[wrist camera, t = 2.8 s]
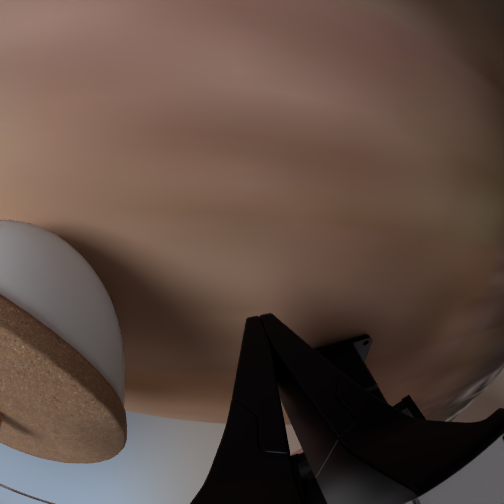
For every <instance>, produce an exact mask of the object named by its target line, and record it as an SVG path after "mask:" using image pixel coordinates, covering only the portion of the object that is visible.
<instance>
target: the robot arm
mask: <svg viewBox="0 0 504 504" xmlns="http://www.w3.org/2000/svg"><path fill="white" fill-rule="evenodd" d="M371 341H372V339H371V337H370V336H369V335H368V334H365V335H362V336H359V337H356V338H352V339H349V340H346V341H342V342H339V343H336V344H332V345H329V346H325V347H322V348H318V349H313V348H312V347H311V346H310V345H308V344H307V343H306V342H305V341H304V340H302V339H301V338H300V337H299V336H298V335H296V334H295V333H294V332H293V331H292V330H291V329H289V328H288V327H287V326H286V325H285V324H283V323H282V322H281V321H280V320H279V319H278V318H276V317H275V316H274V315H273V314H271V313H268V314H263V315H260V316H253V317H248V318H247V319H246V323H245V329H244V334H243V340H242V345H241V351H240V357H239V362H238V368H237V373H236V379H235V384H234V390H233V395H232V400H231V405H230V410H229V415H228V419H227V423H226V427H225V430H224V433H223V436H222V439H221V442H220V445H219V448H218V450H217V453H216V456H215V458H214V461H213V464H212V467H211V469H210V471H209V474H208V476H207V478H206V480H205V482H204V484H203V486H202V488H201V489H200V491H199V492H198V493H197V495H196V496H195V498H194V499H193V500H192V502H191V503H190V504H504V435H503V436H501V435H502V434H504V409H503V408H499V409H498V410H496V411H495V412H494V413H493V414H492V415H491V416H489V417H488V418H487V419H485V420H482V421H479V422H472V423H462V422H445V421H432V420H426V419H425V417H424V416H423V415H422V413H421V412H420V410H419V409H418V407H417V406H416V404H415V403H414V401H413V400H412V399H411V397H410V396H409V395H408V396H406V397H405V398H403V399H402V401H401V402H399V403H398V404H396V405H394V406H393V407H392V406H391V405H389V404H388V403H387V401H386V400H385V398H384V396H383V394H382V393H381V391H380V389H379V387H378V386H377V383H376V381H375V380H374V378H373V376H372V374H371V373H370V371H369V369H368V368H367V366H366V364H365V363H364V362H365V359H366V356H367V353H368V351H369V348H370V345H371ZM280 399H281V401H282V403H283V406H284V408H285V410H286V413H287V415H288V417H289V419H290V422H291V424H292V426H293V429H294V431H295V433H296V435H297V438H298V440H299V442H300V444H301V447H302V449H303V451H304V452H303V453H300V454H295V455H292V456H290V450H289V444H288V439H287V433H286V428H285V422H284V417H283V411H282V406H281V401H280Z"/></svg>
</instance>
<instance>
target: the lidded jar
mask: <svg viewBox="0 0 504 504" xmlns="http://www.w3.org/2000/svg"><path fill="white" fill-rule="evenodd" d="M124 403H125V365H124V348H123V342H122V336H121V330H120V326H119V321H118V318H117V315H116V312H115V309H114V306H113V304H112V301H111V299H110V296H109V294H108V292H107V290H106V289H105V287H104V285H103V283H102V281H101V280H100V278H99V277H98V275H97V274H96V272H95V271H94V270H93V268H92V267H91V265H90V264H89V263H88V262H87V261H86V260H85V259H84V257H83V256H82V255H81V254H80V253H79V252H78V251H77V250H75V249H74V248H73V247H72V246H71V245H70V244H69V243H67V242H66V241H64V240H63V239H61V238H60V237H59V236H57V235H56V234H54V233H52V232H50V231H48V230H46V229H44V228H42V227H39V226H36V225H33V224H30V223H26V222H20V221H14V220H0V443H3V444H5V445H7V446H9V447H11V448H13V449H16V450H18V451H21V452H24V453H27V454H30V455H33V456H36V457H39V458H44V459H48V460H53V461H58V462H64V463H95V462H101V461H104V460H108V459H111V458H112V457H114V456H116V455H117V454H118V453H119V452H120V451H121V450H122V449H123V448H124V446H125V443H126V440H127V422H126V413H125V409H124Z"/></svg>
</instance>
